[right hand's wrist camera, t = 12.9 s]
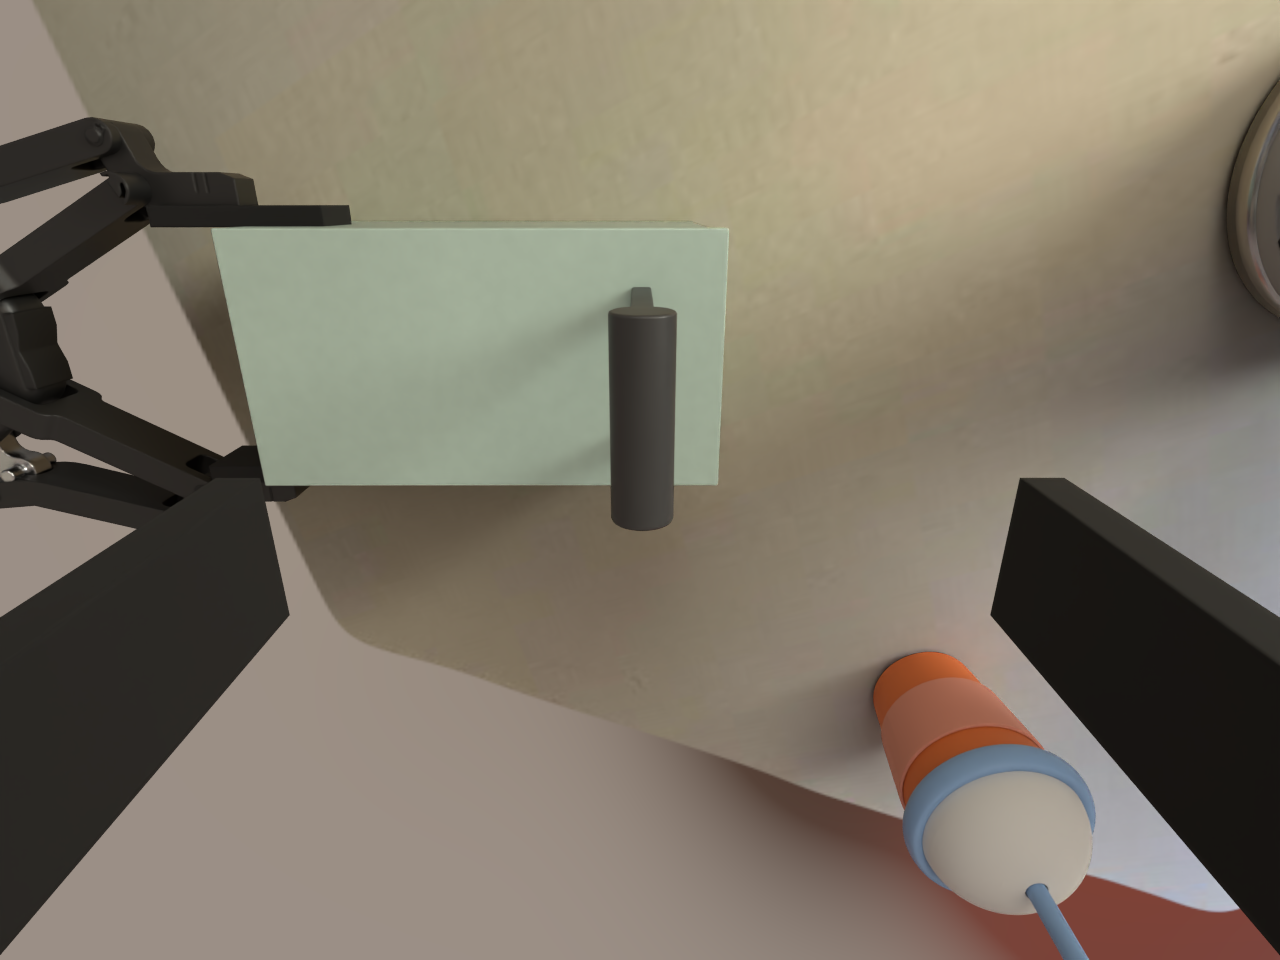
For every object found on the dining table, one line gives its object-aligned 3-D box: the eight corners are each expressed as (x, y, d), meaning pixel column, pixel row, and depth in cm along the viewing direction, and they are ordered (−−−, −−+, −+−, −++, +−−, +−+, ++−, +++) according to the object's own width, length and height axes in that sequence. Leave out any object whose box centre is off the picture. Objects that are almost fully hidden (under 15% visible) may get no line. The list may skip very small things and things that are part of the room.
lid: (726, 227, 25) (769, 239, 17) (715, 478, 28) (746, 588, 20) (222, 227, 25) (21, 239, 17) (274, 478, 28) (129, 588, 20)
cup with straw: (839, 746, 45) (954, 1062, 29) (860, 627, 42) (1005, 907, 25) (977, 750, 46) (1173, 1067, 29) (1009, 631, 42) (1252, 913, 25)
